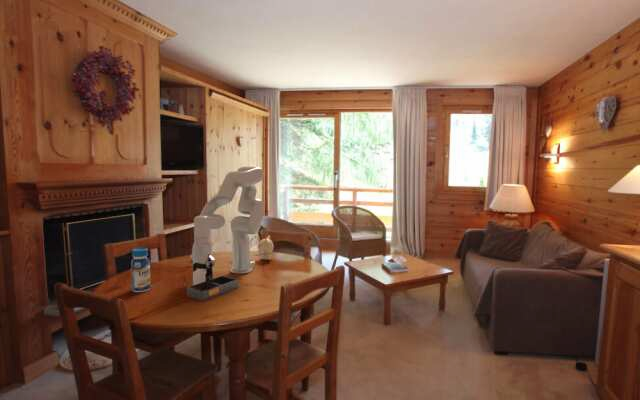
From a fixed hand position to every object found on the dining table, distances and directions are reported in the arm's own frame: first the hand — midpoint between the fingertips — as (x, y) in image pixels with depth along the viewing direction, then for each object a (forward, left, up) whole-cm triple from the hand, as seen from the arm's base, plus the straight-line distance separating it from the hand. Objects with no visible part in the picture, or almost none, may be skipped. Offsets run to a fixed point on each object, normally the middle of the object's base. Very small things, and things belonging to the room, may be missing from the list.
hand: (202, 273), depth 186 cm
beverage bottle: (+22, -18, -6) cm, 29 cm away
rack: (+5, +13, -5) cm, 15 cm away
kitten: (-56, -5, -6) cm, 57 cm away
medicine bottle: (0, 0, -6) cm, 6 cm away
